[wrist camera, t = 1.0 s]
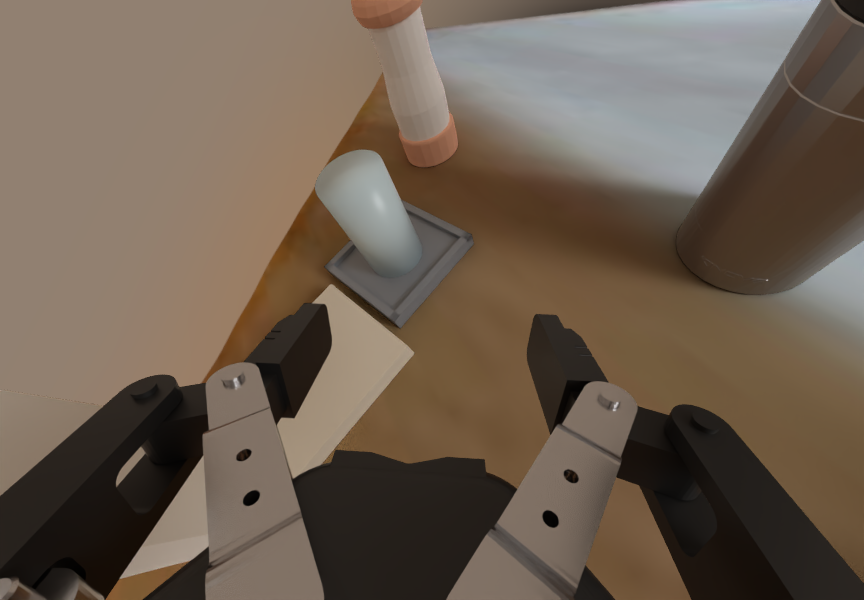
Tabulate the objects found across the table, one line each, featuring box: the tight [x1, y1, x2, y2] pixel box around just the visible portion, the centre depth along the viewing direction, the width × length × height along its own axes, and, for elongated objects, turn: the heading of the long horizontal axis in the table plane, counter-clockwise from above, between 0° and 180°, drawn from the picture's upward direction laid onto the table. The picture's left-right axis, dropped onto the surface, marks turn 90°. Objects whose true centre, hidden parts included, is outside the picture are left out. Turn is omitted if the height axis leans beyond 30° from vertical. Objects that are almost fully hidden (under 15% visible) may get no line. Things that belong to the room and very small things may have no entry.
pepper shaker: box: [351, 0, 458, 167], centre depth 35 cm, size 7×7×19 cm
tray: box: [324, 200, 474, 328], centre depth 35 cm, size 12×12×2 cm
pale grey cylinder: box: [315, 150, 422, 278], centre depth 30 cm, size 6×6×11 cm
